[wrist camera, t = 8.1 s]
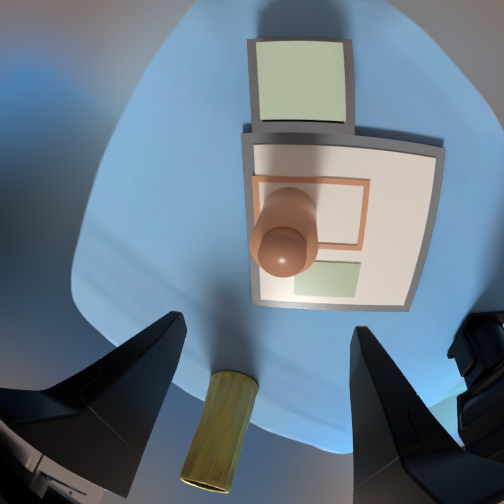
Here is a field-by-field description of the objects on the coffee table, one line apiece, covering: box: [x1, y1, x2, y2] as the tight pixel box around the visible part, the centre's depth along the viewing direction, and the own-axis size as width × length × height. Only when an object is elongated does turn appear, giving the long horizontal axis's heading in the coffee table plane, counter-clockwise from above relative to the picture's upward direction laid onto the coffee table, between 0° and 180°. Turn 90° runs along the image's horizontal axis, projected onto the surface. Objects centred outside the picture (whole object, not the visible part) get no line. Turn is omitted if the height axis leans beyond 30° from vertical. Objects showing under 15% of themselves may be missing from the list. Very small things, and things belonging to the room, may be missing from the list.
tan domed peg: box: [250, 187, 318, 278], centre depth 16 cm, size 4×4×6 cm
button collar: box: [247, 37, 355, 135], centre depth 13 cm, size 6×6×3 cm
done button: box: [256, 41, 346, 122], centre depth 12 cm, size 4×4×4 cm
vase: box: [180, 371, 259, 493], centre depth 25 cm, size 6×6×14 cm
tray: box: [241, 132, 446, 312], centre depth 19 cm, size 14×14×1 cm
